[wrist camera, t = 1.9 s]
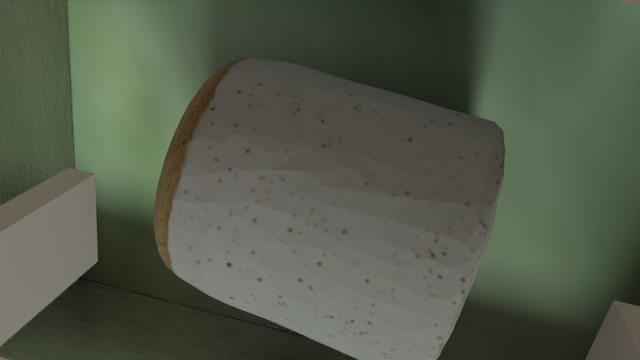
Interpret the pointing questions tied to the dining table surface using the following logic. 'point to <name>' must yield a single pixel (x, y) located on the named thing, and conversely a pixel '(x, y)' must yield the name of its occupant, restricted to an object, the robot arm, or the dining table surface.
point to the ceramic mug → (330, 206)
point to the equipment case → (81, 296)
